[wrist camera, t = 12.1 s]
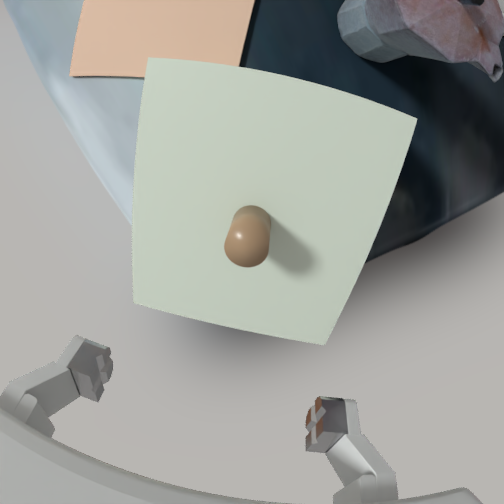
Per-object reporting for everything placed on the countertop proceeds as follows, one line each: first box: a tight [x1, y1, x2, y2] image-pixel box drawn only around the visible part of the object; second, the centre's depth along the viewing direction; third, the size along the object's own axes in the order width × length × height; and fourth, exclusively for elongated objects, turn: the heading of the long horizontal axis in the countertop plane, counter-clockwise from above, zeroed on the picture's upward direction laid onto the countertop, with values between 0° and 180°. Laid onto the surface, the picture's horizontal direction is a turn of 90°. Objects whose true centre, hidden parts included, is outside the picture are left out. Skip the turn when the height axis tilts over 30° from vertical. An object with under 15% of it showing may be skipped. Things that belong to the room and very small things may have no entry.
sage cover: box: [132, 57, 417, 345], centre depth 28 cm, size 20×23×17 cm
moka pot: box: [337, 0, 504, 82], centre depth 17 cm, size 10×15×20 cm, turn 47°
